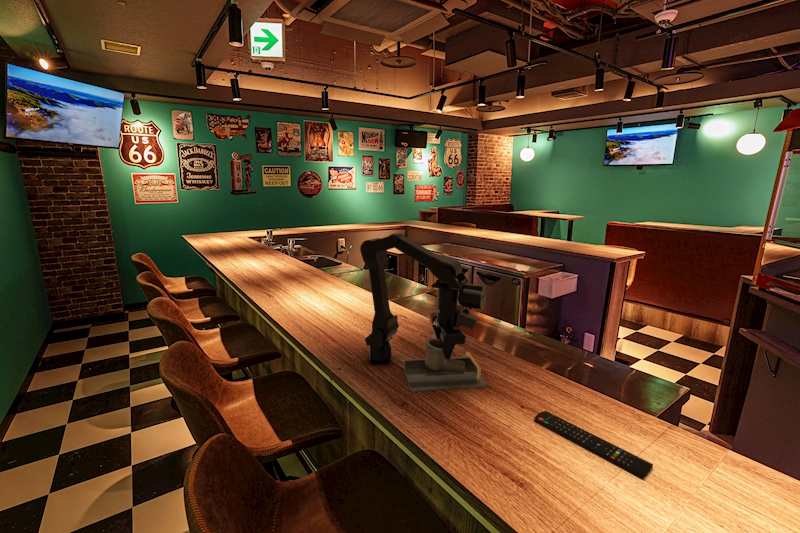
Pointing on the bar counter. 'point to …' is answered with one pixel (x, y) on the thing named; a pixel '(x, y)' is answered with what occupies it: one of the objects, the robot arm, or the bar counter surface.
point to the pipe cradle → (442, 375)
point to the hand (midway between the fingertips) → (445, 354)
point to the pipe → (440, 358)
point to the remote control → (595, 444)
